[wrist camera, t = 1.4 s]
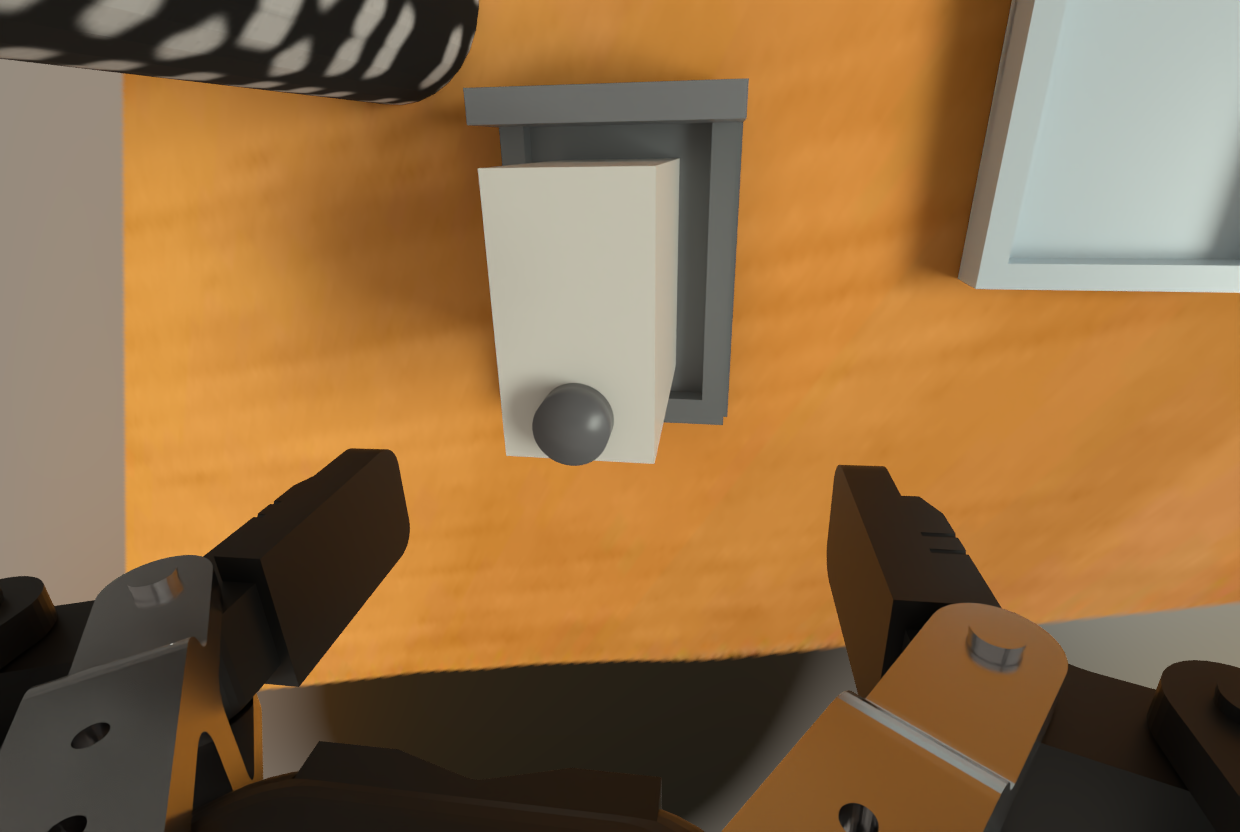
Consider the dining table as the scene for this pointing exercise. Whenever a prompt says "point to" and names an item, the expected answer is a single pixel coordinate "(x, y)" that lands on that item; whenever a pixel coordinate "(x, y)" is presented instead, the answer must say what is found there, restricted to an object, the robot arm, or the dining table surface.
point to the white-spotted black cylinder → (254, 42)
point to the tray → (1111, 150)
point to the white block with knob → (583, 304)
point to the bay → (708, 193)
